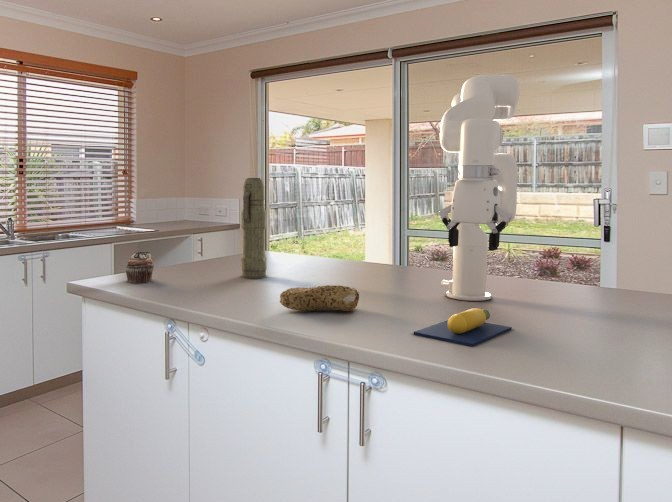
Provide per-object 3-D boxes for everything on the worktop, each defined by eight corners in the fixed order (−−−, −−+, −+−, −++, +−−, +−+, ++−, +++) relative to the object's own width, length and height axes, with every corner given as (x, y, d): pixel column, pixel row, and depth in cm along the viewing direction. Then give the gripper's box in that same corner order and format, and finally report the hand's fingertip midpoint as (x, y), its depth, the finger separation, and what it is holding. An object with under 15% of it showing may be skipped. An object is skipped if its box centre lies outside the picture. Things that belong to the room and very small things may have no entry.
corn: (472, 317, 144) (479, 301, 143) (489, 327, 142) (496, 311, 140) (440, 329, 133) (448, 312, 132) (457, 339, 131) (465, 322, 129)
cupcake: (131, 278, 209) (130, 249, 208) (157, 278, 208) (157, 250, 207) (120, 283, 200) (119, 253, 199) (148, 283, 199) (147, 253, 197)
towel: (413, 334, 135) (413, 331, 135) (456, 319, 149) (456, 317, 149) (472, 346, 125) (472, 343, 125) (511, 329, 139) (511, 327, 139)
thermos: (235, 278, 210) (235, 178, 205) (248, 273, 221) (248, 177, 216) (259, 279, 206) (259, 177, 202) (271, 274, 217) (271, 178, 213)
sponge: (356, 311, 164) (287, 292, 168) (362, 285, 161) (292, 267, 165) (348, 331, 152) (274, 310, 156) (354, 303, 149) (279, 283, 153)
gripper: (520, 173, 133) (516, 250, 135) (449, 173, 145) (446, 243, 147) (506, 174, 127) (502, 253, 130) (433, 173, 139) (431, 246, 142)
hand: (472, 248), depth 139 cm, fingers open, 9 cm apart
